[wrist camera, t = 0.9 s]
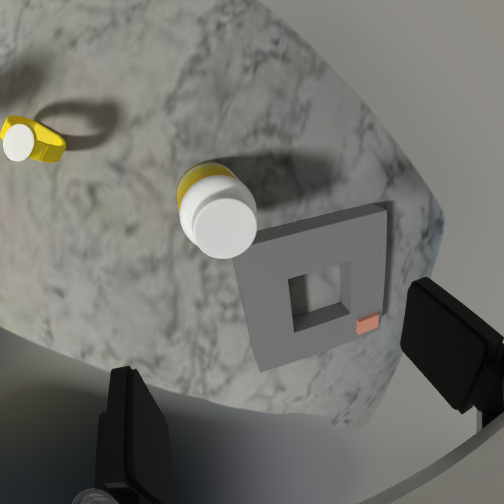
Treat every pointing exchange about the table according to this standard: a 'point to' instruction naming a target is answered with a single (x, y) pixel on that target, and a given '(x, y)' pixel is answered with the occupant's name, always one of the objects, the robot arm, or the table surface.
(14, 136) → the watch
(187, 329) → the table surface
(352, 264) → the block with square hole
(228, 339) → the table surface
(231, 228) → the supplement bottle
